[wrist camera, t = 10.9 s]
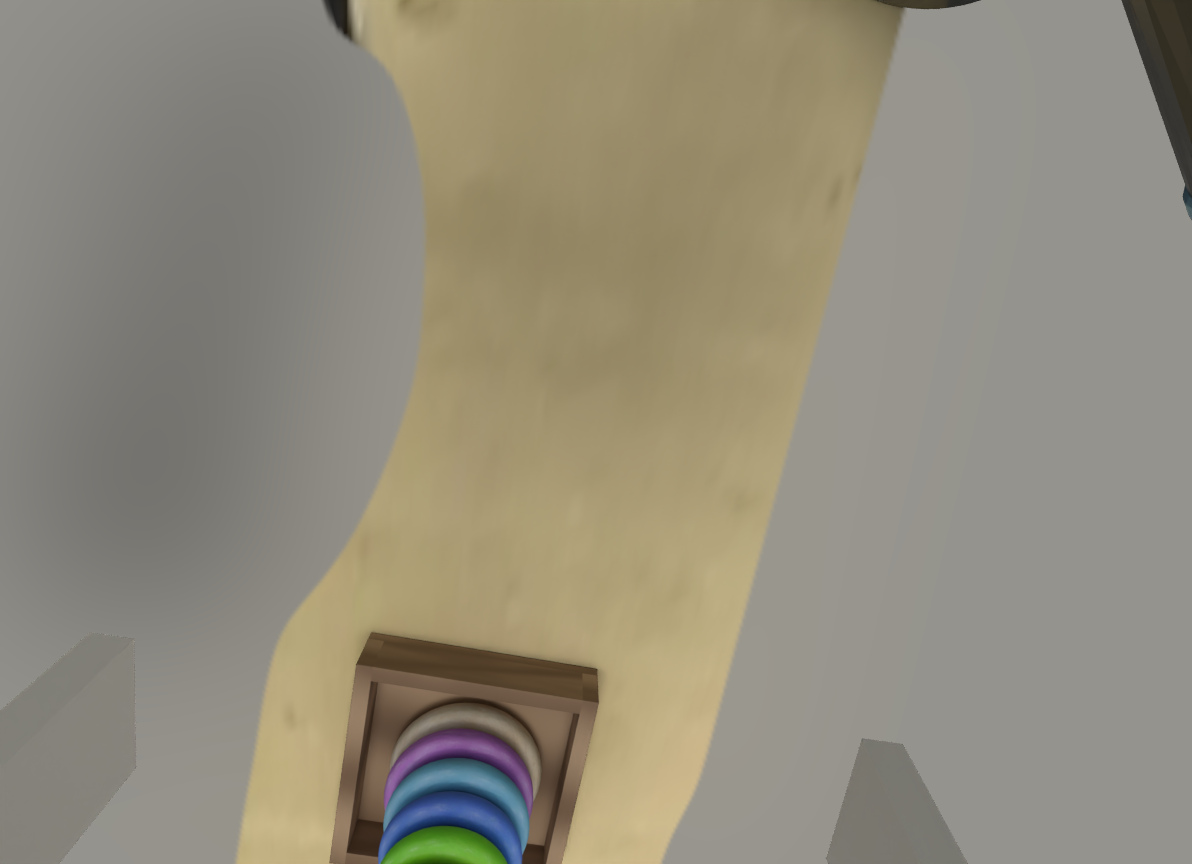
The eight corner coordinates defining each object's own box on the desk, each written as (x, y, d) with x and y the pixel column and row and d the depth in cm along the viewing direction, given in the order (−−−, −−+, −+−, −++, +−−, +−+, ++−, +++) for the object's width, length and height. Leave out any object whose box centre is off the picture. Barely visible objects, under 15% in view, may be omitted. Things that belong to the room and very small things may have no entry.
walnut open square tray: (371, 632, 42) (356, 664, 39) (597, 669, 43) (598, 702, 40) (344, 820, 45) (329, 862, 42) (555, 850, 46) (554, 894, 43)
